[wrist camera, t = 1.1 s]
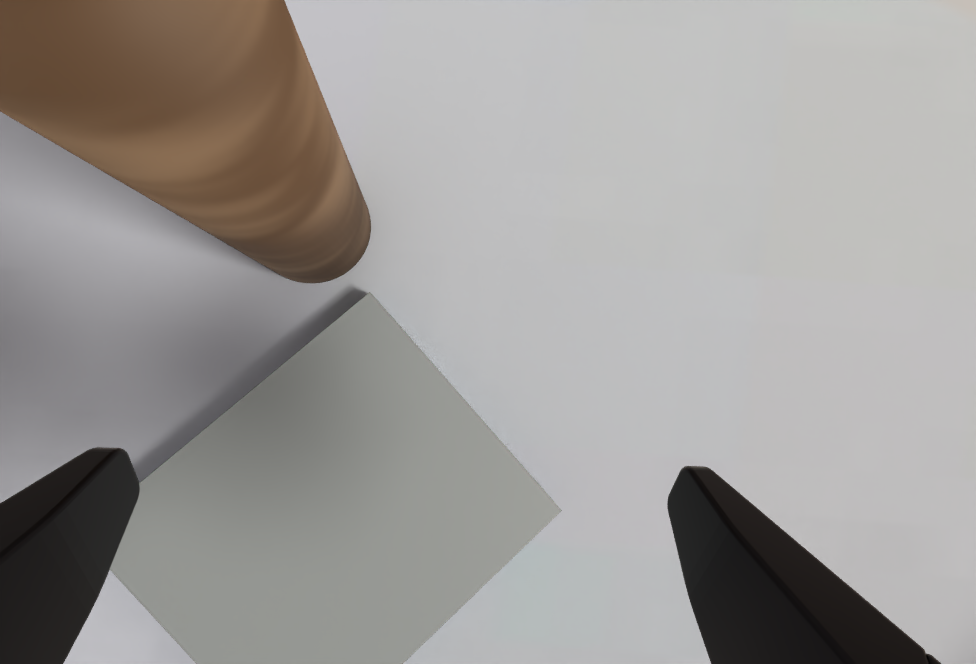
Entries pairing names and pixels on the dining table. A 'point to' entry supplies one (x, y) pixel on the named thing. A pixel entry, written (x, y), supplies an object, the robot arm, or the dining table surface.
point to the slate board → (330, 509)
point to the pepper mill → (194, 118)
